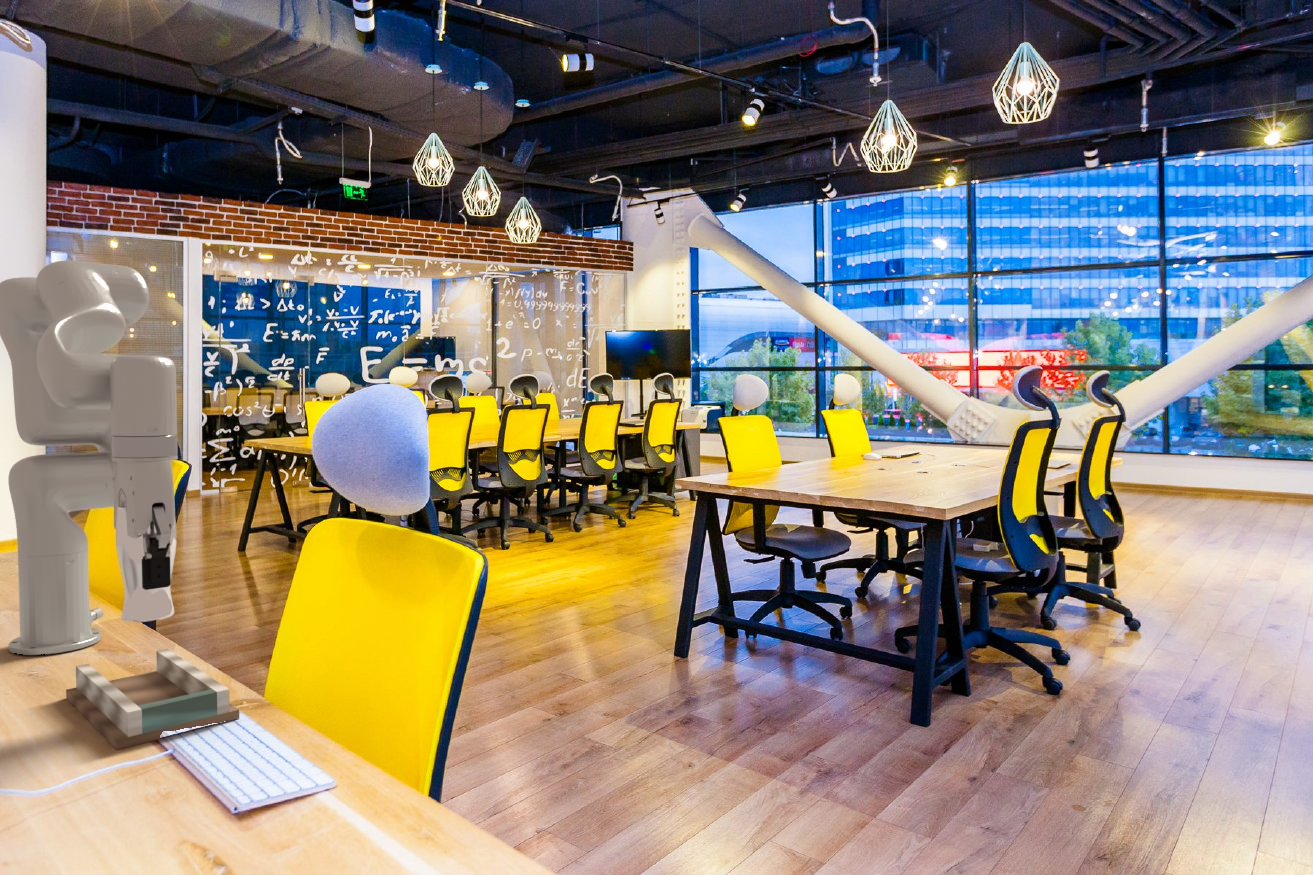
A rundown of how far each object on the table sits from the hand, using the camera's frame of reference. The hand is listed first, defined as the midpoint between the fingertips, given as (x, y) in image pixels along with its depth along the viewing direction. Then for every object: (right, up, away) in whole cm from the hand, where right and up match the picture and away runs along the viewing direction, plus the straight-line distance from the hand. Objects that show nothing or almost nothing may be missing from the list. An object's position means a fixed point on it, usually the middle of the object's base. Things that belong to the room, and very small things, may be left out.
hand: (147, 582), depth 115 cm
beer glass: (0, -5, 0) cm, 5 cm away
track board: (0, -17, +1) cm, 17 cm away
